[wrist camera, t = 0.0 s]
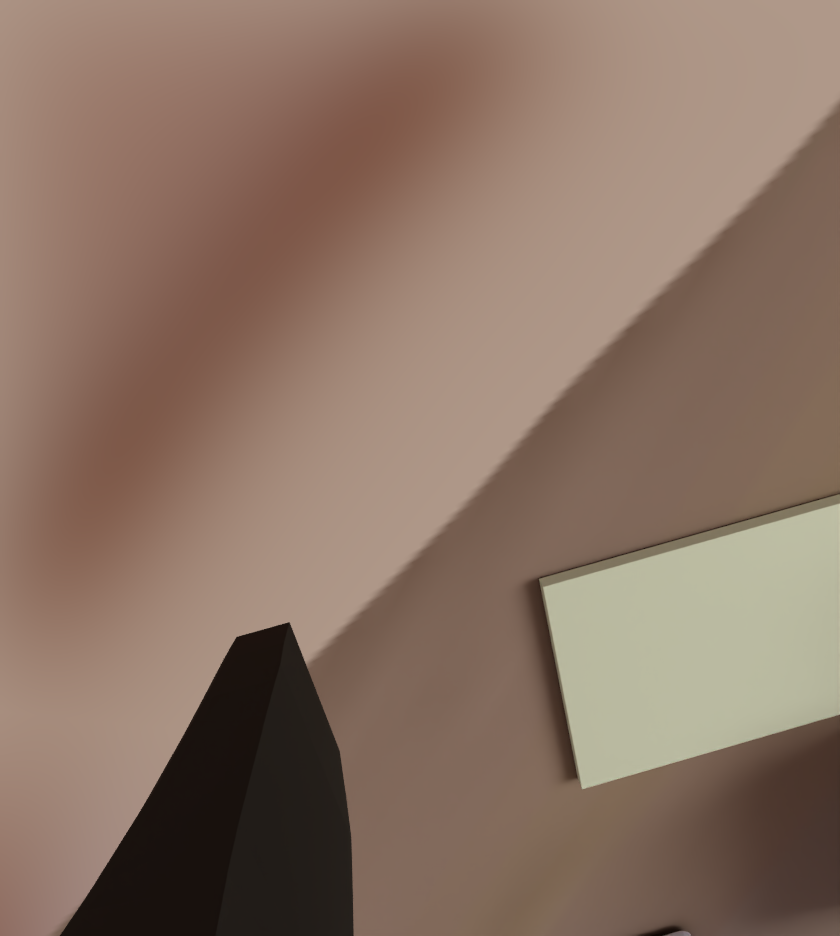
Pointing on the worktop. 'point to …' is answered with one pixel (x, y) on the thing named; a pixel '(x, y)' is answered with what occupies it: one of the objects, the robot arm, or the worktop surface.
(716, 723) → the mat
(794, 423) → the worktop surface
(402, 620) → the worktop surface
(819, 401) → the worktop surface
